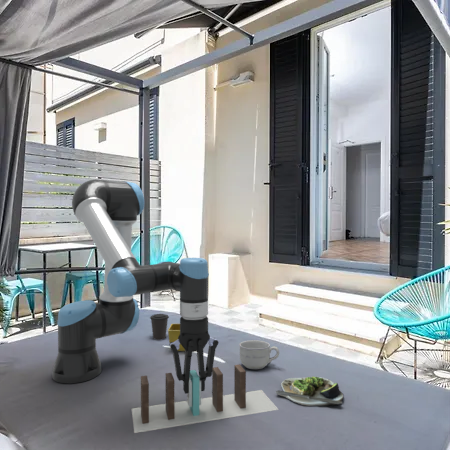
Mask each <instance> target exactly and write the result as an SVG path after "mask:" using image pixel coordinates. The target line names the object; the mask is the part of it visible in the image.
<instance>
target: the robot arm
mask: <svg viewBox="0 0 450 450" xmlns="http://www.w3.org/2000/svg"><path fill="white" fill-rule="evenodd" d="M71 206H72V207H71V208H72V211H73V214H74V215H75V218H76V219H77V220H78V221H79V222H80V223H83V225H84V227H85V229H86V231H87V232H88V235H89V236H90V238H91V239H92V241H93V243H94V245H95V246H96V249H97V250H98V252H99V254H100V255H101V258H102V260H103V261H104V280H103V281H104V283H103V284H104V285H103V286H104V287H103V290H104V291H103V292H102V293H101V294H100V295H99V299H98V303H96V302H95V301H94V300H89V299H86V300H85V299H84V300H79V301H74V302H71V303H67V304H65V305H63V307H61V308H60V309H59V310H58V315H57V322H56V324H57V346H58V347H57V348H58V350H57V356H56V358H55V361H54V365H53V368H52V373H51V374H52V375H51V376H52V379H53V381H54V382H56V383H60V384H77V383H84V382H86V381H90V380H92V379H95V378H96V377H98V376H99V375H100V374H101V373H102V362H101V359H100V357H99V354H98V351H97V348H96V347H97V346H96V345H97V343H96V341H97V340H98V339H102V338H106V337H110V336H115V335H121V334H125V333H126V332H130V331H132V330H133V329H134V328H135V327H136V326H137V324H138V323H139V318H140V308H139V303H138V301H137V300H136V299H135V298H134V296H137V295H143V294H148V293H149V294H150V293H156V292H162V291H163V292H164V291H170V290H172V291H176V292H179V315H180V318H179V324H180V335H179V337H178V340H176V341H175V342H170V343H169V344H168V345H169V347H170V349H171V351H172V355H173V356H172V357H173V361H174V367H175V368H174V369H175V375H176V378H177V380H178V381H179V382H180V381H182V383H183V389H182V390H183V391H184V394H187V395H186V397H187V398H186V399H187V400H186V401H187V403H188V405H189V407H192V381H191V379H190V370H191V366H192V365H191V363H192V356H193V353H194V352H196V358H197V368H198V369H197V370H198V376H199V405H201V399H202V392H205V389H206V387H205V386H206V380H207V378H212V377H211V376H212V370H213V368H214V361H215V355H216V349H217V347H218V345H219V342H220V341H219V340H218V339H217V338H216V337H212V336H210V334H209V317H208V315H209V273H210V272H209V265H208V260H207V259H206V258H204V257H184V258H182V259H180V262H179V263H177V262H175V261H174V262H173V261H169V260H168V261H160V262H157V263H155V264H142V265H141V264H140V263H139V261H138V260H137V259H136V257H135V255H134V254H133V252H132V236H133V225H134V224H135V223H136V222H137V220H138V219H137V218H138V216H139V215H141V214H142V213H143V210H144V209H145V196H144V193H143V191H142V189H141V187H140V186H139V185H138V184H137V183H135V182H131V181H125V180H121V181H120V180H109V179H105V180H104V179H90V180H87V181H85V182H83V183H82V184H80V185H79V186H78V187H77V188H76V190H75V191H74V193H73V196H72V198H71ZM179 344H181V345H182V346H183V348H184V349H185V351H184V359H183V360H184V361H183V372H182V366H181V359H180V354H179V351H178V349H179ZM206 345H209V346H208V348H207V349H208V350H207V357H206V364H205V361H204V354H205V353H204V349H205V347H206Z"/></svg>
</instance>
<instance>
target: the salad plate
mask: <svg viewBox="0 0 450 450" xmlns="http://www.w3.org/2000/svg"><path fill="white" fill-rule="evenodd" d="M280 386H281V390H275V394H276V395H279V396H281V397H284V398H286V399H288V400H290V401H292V402H294V403H295V404H298V405H301V406H306V407H307V406H309V407H312V406H313V407H314V406H317V407H321V406H324V407H327V406H328V407H329V406H337V405H341V404H343V399H344V394H343V392H342V391H341V389H340V386H339V384H338V382H333V381H332V380H330V379H328V378H325V377H321V376H307V377H288V378H286V379H284V380H283V381H281V383H280Z"/></svg>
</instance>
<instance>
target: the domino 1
mask: <svg viewBox="0 0 450 450" xmlns="http://www.w3.org/2000/svg"><path fill="white" fill-rule="evenodd" d="M149 406H150V383H149V379H148V375H141V376H140V407H141V418H142V424H145V423H149Z"/></svg>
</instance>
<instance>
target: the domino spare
mask: <svg viewBox="0 0 450 450" xmlns="http://www.w3.org/2000/svg"><path fill="white" fill-rule="evenodd" d="M189 378H190V379H191V381H192V407H190V409H191V412H192V414H193V416H197V415H199V373H197V370H196V369H190V377H189Z"/></svg>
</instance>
